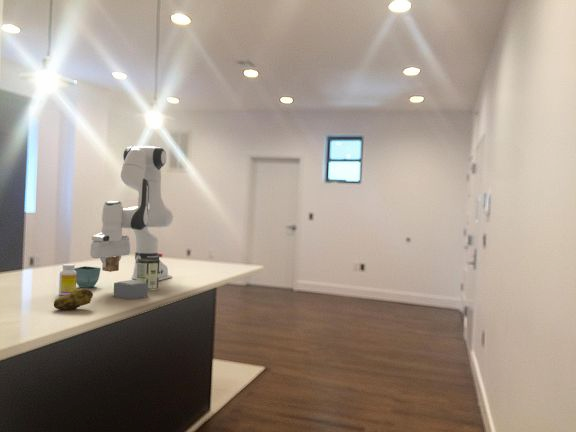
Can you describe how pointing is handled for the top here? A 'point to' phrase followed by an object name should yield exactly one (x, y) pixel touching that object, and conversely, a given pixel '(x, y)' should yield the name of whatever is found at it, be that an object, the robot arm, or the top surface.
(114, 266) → the walnut block
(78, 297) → the potato
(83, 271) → the flower pot
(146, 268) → the coffee can
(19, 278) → the top surface
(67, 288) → the supplement bottle
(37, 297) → the top surface
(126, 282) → the slate base
